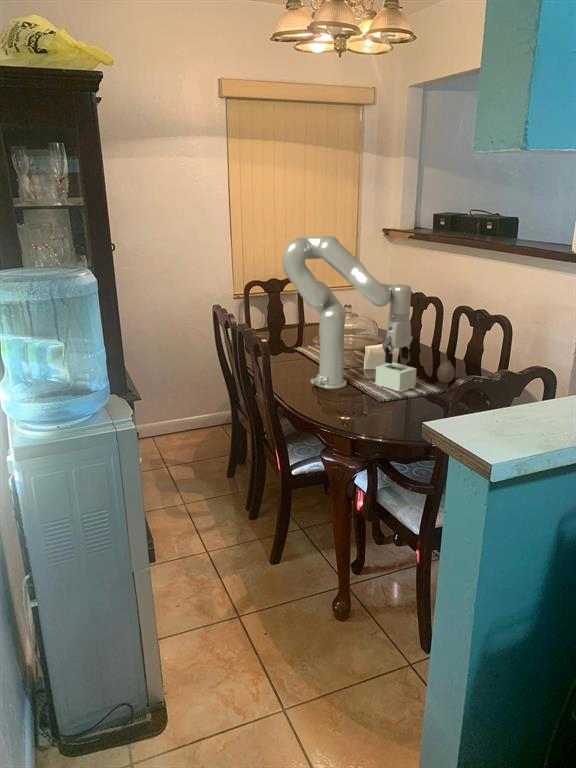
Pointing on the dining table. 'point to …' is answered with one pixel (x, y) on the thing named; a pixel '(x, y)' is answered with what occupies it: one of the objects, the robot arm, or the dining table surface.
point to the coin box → (395, 376)
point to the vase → (446, 372)
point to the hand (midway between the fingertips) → (396, 360)
